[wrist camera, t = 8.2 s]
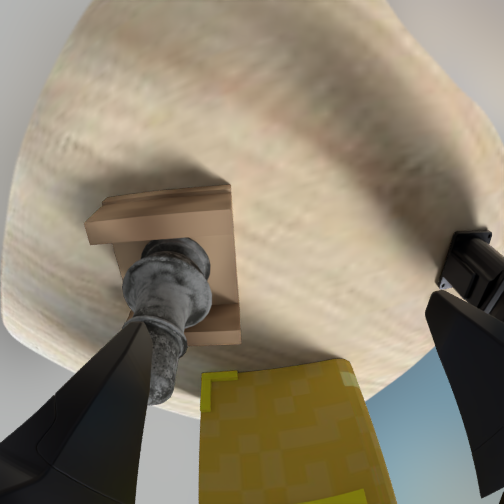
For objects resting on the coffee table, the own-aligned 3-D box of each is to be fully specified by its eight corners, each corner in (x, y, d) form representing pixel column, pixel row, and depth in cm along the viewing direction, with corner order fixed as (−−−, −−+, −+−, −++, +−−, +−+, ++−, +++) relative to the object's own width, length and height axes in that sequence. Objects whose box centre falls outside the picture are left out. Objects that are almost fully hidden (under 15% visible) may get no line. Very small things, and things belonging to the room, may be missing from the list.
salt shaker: (138, 223, 18) (57, 360, 8) (221, 238, 19) (213, 395, 9) (136, 290, 21) (89, 425, 10) (208, 303, 22) (198, 448, 11)
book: (214, 402, 31) (218, 586, 10) (201, 372, 28) (200, 597, 6) (346, 383, 31) (395, 557, 10) (355, 351, 28) (423, 558, 6)
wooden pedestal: (230, 184, 18) (230, 204, 15) (239, 311, 24) (241, 346, 20) (107, 197, 18) (82, 219, 14) (140, 314, 23) (129, 347, 20)
